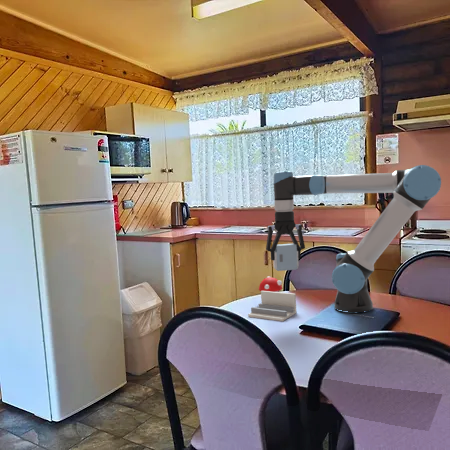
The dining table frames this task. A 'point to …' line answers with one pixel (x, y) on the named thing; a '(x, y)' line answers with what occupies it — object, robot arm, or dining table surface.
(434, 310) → the dining table surface
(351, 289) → the robot arm
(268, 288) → the mushroom
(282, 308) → the track
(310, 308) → the dining table surface
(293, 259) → the door
